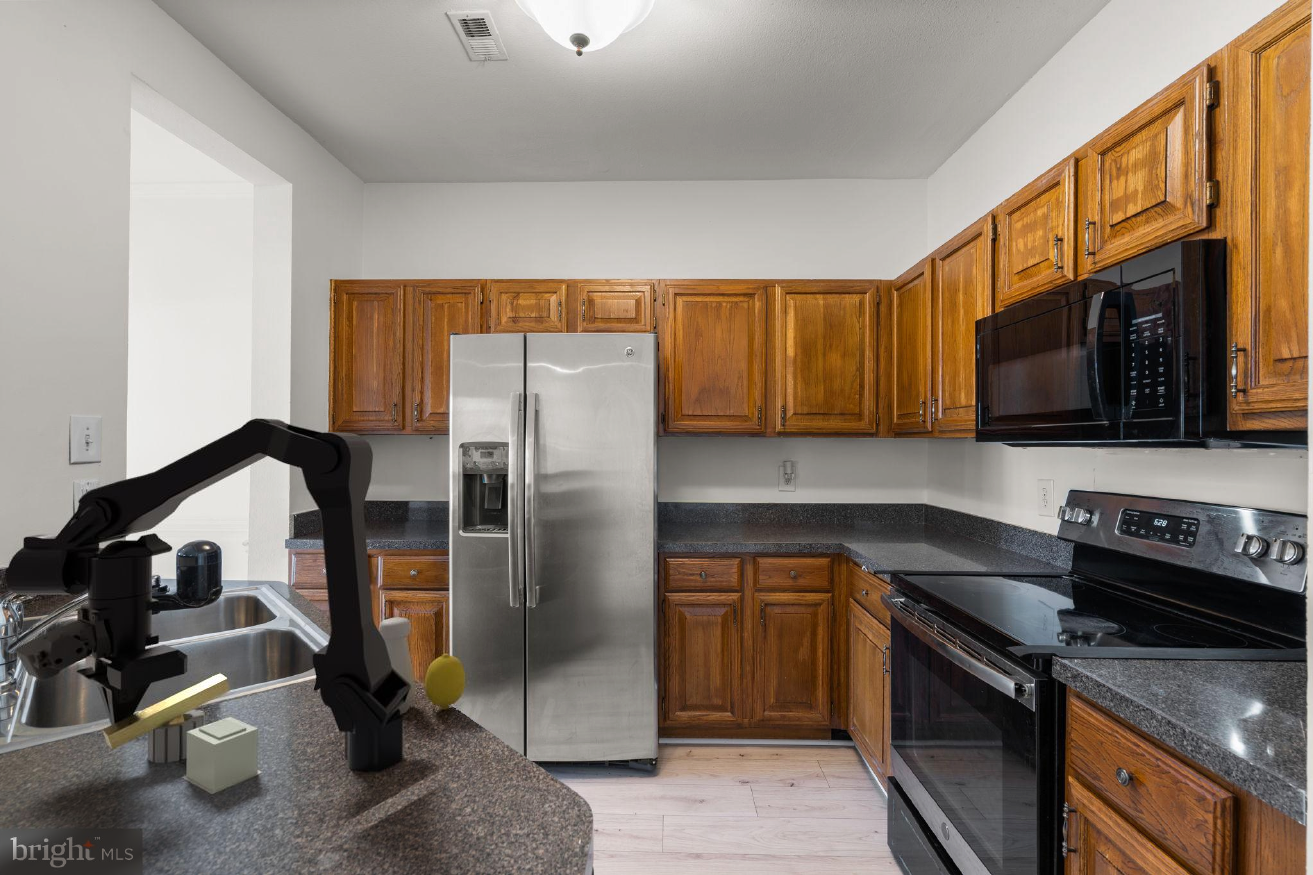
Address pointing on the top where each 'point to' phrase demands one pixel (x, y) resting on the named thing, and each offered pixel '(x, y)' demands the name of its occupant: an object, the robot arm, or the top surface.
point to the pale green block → (222, 753)
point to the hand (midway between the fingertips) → (119, 728)
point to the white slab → (177, 743)
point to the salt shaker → (399, 652)
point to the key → (165, 711)
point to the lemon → (445, 681)
